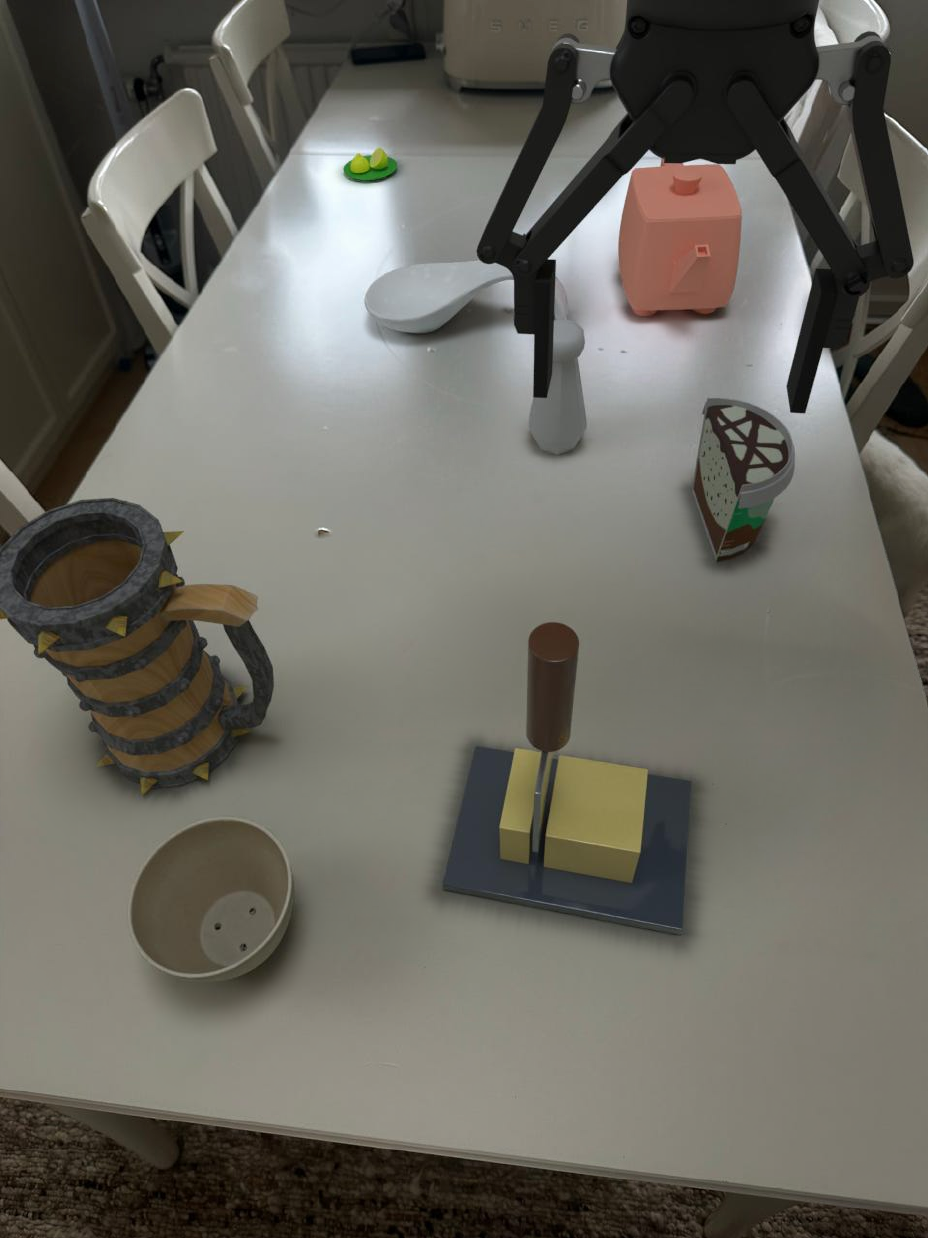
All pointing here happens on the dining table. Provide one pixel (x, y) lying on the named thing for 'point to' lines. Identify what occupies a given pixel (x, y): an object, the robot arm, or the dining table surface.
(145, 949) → the flower pot
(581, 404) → the salt shaker
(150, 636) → the mug
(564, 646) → the knife
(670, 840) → the butter dish
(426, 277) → the spoon rest
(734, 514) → the food container
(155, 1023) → the dining table surface
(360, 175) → the lemon
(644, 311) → the teapot
